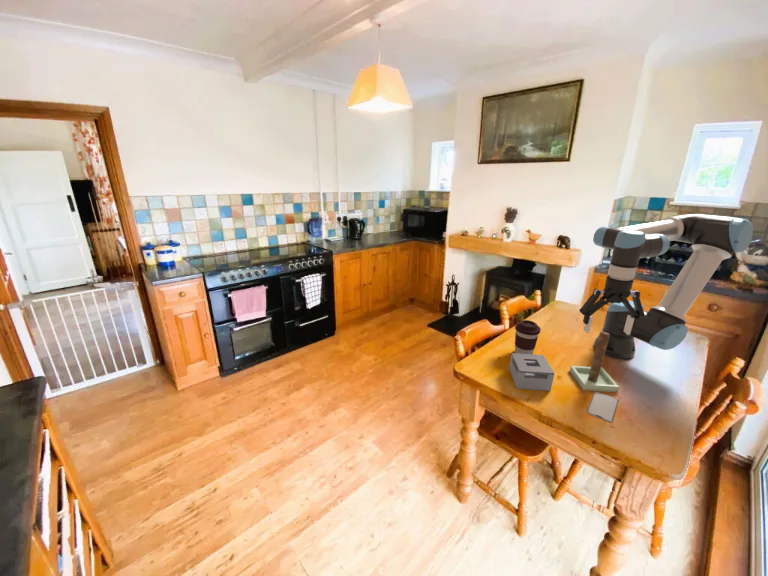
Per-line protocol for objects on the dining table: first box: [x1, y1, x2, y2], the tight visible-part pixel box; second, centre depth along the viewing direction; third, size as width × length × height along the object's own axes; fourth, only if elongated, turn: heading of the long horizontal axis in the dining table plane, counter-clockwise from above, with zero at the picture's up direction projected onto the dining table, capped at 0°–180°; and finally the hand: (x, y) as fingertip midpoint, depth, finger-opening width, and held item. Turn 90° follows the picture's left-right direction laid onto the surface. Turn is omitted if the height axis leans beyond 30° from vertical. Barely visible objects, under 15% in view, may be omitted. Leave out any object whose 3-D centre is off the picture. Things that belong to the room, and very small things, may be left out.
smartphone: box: [586, 391, 620, 424], centre depth 111 cm, size 7×1×15 cm
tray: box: [569, 365, 620, 393], centre depth 124 cm, size 12×12×2 cm
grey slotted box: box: [508, 352, 555, 392], centre depth 124 cm, size 12×12×8 cm
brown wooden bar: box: [588, 331, 610, 382], centre depth 120 cm, size 3×3×20 cm
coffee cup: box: [514, 319, 541, 354], centre depth 140 cm, size 10×10×15 cm
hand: (606, 332), depth 117 cm, fingers open, 13 cm apart
